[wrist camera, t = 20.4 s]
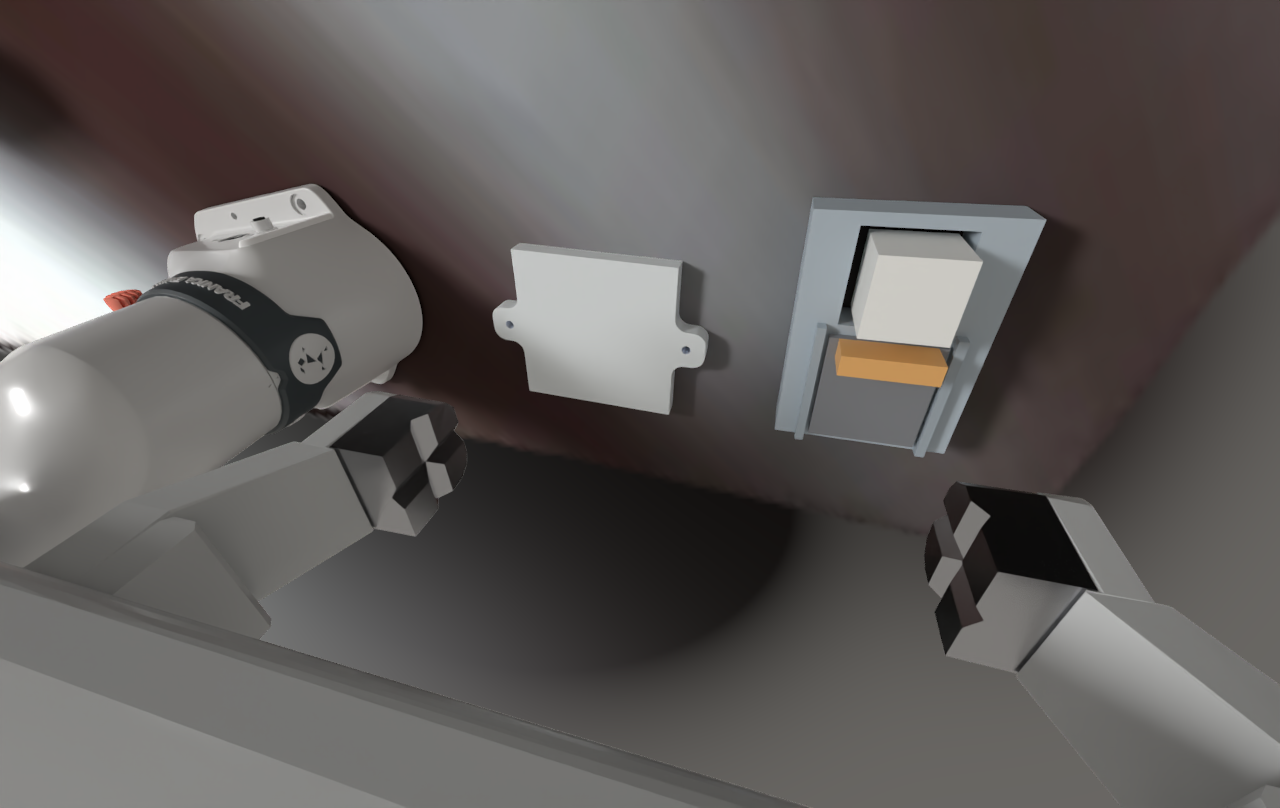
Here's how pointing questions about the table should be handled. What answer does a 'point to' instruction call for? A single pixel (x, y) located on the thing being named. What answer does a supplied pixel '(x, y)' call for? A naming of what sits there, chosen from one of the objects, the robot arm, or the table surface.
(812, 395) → the socket
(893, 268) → the white block
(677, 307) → the mounting plate
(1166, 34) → the table surface
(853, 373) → the shutter
